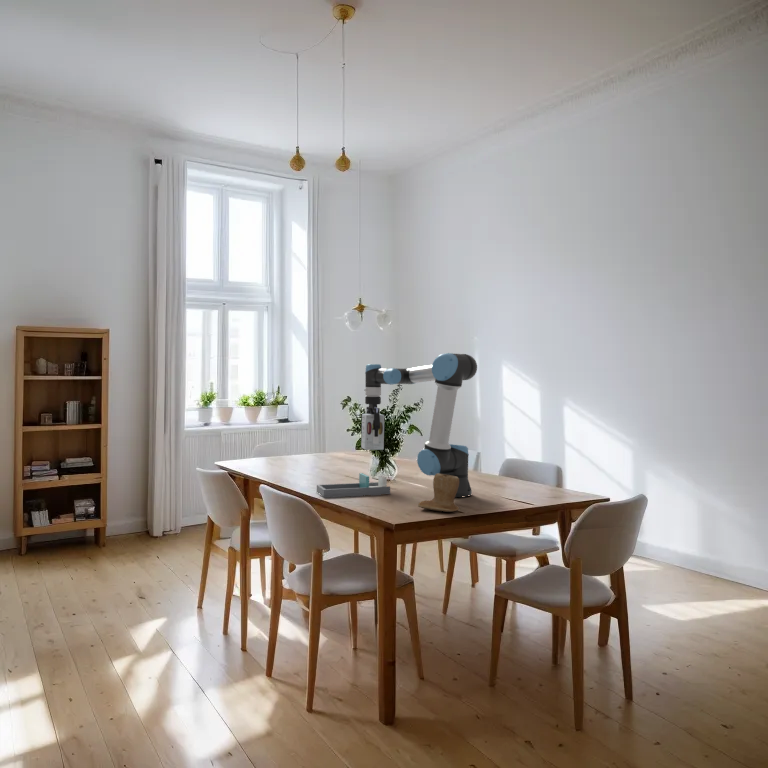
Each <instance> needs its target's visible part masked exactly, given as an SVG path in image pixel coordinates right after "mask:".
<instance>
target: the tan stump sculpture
mask: <svg viewBox="0 0 768 768" xmlns="http://www.w3.org/2000/svg"><path fill="white" fill-rule="evenodd" d="M432 485H433V486H432V487H433V499H430V500H427V499H426V500H422V501H420V502H418V505H417V507H418V508H421V509H425V510H429V511H436V512H442V511H443V513H444V512H447V513H449V512H450V513H452V512H456V511H458V510H459V509H460V508H459V506H458V505H456V504H455V495H456V493H457V490H458V486H459V478H458V477H456V476H451V475H445V474H440V473H437V474H436V475H435V476H433V482H432Z"/></svg>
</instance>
